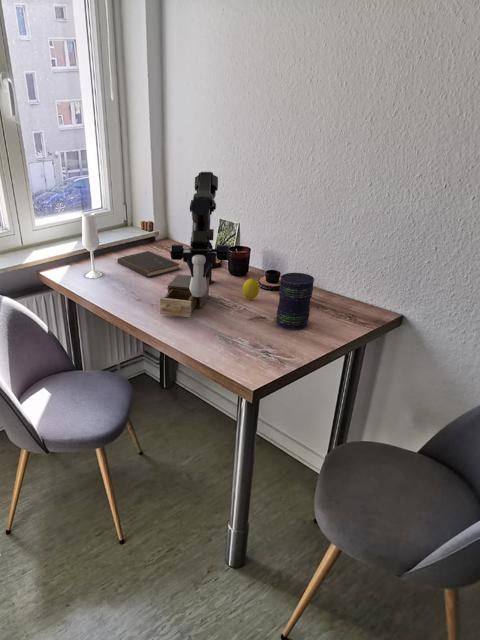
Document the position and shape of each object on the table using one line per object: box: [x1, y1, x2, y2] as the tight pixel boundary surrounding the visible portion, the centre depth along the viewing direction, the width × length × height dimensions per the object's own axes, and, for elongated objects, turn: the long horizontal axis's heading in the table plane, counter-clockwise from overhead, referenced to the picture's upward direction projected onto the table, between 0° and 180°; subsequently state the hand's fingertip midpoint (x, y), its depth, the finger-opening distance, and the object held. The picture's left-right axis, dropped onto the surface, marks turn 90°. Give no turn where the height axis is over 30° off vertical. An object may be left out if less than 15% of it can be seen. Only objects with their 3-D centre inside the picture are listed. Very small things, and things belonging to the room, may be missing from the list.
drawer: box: [159, 288, 197, 318], centre depth 166 cm, size 15×10×5 cm
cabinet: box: [167, 273, 210, 309], centre depth 176 cm, size 12×12×7 cm
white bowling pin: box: [189, 255, 207, 297], centre depth 161 cm, size 6×6×13 cm
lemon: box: [242, 277, 260, 301], centre depth 174 cm, size 6×6×8 cm
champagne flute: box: [81, 212, 103, 279], centre depth 197 cm, size 7×7×24 cm
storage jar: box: [275, 272, 315, 331], centre depth 155 cm, size 10×10×15 cm
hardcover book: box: [117, 250, 180, 278], centre depth 210 cm, size 16×23×2 cm
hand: (198, 277), depth 159 cm, fingers closed on white bowling pin, 3 cm apart
